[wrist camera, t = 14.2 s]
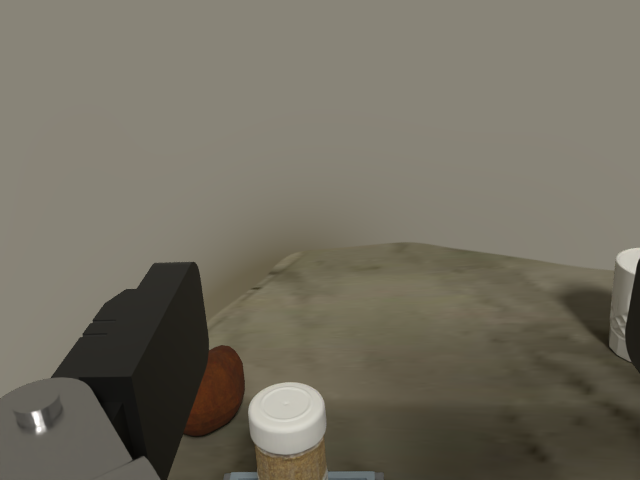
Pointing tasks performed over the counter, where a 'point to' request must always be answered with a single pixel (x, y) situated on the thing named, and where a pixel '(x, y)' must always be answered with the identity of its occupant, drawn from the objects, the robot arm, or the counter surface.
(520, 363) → the counter surface
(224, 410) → the potato
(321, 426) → the sprinkles bottle
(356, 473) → the blue square tray
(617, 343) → the white cup
